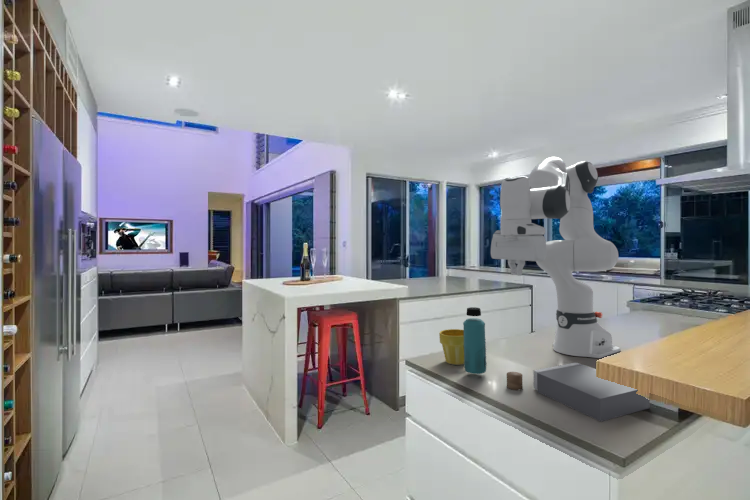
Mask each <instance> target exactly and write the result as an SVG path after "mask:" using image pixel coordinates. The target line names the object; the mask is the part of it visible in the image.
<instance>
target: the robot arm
mask: <svg viewBox="0 0 750 500" xmlns="http://www.w3.org/2000/svg"><path fill="white" fill-rule="evenodd" d="M598 180H599V175H598V170H597V168H596V167H595V165H593V163H591V161H588V160H584V161H578V162H576V163H575V164H573V165H570V166H567V165H566V163H565V161H564V160H563V159H562V158H560V157H557V156H551V157H550V156H549V157H547V158H545V159H543V160H541V161H540V162H539V163H537V164H536V165H535V167H533V169H532V170H531V172H530V173H529V175H528V176H527V175H519V176H511V177H506V178H505V179H503V180H502V182H501V188H500V195H499V196H500V197H499V198H500V204H499V205H500V209H501V215H500V230H499V229H498V230H495V232H494V233H493V234H492V238H491V244H490V257H491V259H492V260H493V259H495V260H506V261H507V264H508V267H509V268H510V275H512V276H522V275H523V269H524V267H525V265H526V262H527V261H528V262H536V263H535V264H536V265H537V266H538V267H539V268H540V269H541V270H543V271H544V272H545V273H546V274H547V275H548V276H549V277H550V278H551V280H552V282H553V284H554V287H555V290H556V297H557V309H556V313H555V316H556V317H555V318H556V321H557V323H556V324H555V332H554V333H555V334H554V341H553V342H552V346H553V347H552V349H553V350H554V351H555V352H557V353H560V354H563V355H567V356H572V357H573V356H574V357H584V358H587V357H588V358H593V359H601V358H604V357H607V356H610V355H613V354H616V353H619V352H621V347H619V346H617V345H615V344H613V337H612V333H611V332H610V331H609V330H607V329H606V328H605V327H603V326H602V325H601V324H600V323H599V322H598V319H597V318H599V319H602V318H603V312H601V311H594V291H593V289H592V288H591V286H590V285H588V284H587V283H585V282H583V281H581V280H578V279H577V278H576V277H574V275H573V272H591V273H593V272H596V273H597V272H604V271H608V270H609V271H610V270H612V269H613V268H614V267H615V266H616V265H617V263H618V261H619V251H618V248H617V247H616V245H615V244H614V243H613V242H612V241H610V240H607V239H604V238H603V237H602V236H600V235H599V234H598V233H597V232H596V230H595V229H594V209H593V206H592V202H591V200H590V198H589V196H588V194H592V193H593V192H594V190H595V187H596V185H597V183H598ZM538 219H539V220H541V219H542V220H543V219H551V220H553V219H554V220H555V219H556V220H559V228H558V229H559V230H558V231H559V234H560V236H561V237H562V238H563V239H560V240H559V239H557V240H556V239H555V240H549V241H548V240H547V239H546V238H545V236H544V235H545V234H546V228H545V227H544V226H541V225H539V224H536V223H534V222H532V220H538ZM546 240H547V241H546Z"/></svg>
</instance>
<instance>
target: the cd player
mask: <svg viewBox="0 0 750 500" xmlns="http://www.w3.org/2000/svg"><path fill="white" fill-rule="evenodd" d="M580 364H581V363H580ZM596 369H597V368H594V367H591V366H588V365H585V364H583V363H582V364H581V365H576V366H571V367H565V368H560V369H555V370H550V371H545V372H539V373H537V390H536V391H537V393H539V394H541V395H543V396H545V397H547V398H549V399H551V400H554V401H556V402H558V403H560V404H562V405H564V406H565V407H568V408H571V409H573V410H574V411H577V412H579V413H581V414H584V415H585V416H588V417H590V418H592V419H594V420H596V421H599V422H605V421H608V420H612V419H615V418H618V417H623V416H626V415H629V414H634V413H638V412H641V411H645V410H648V409H650V400H651V399H650V400H648V399H646V398H645V397H643V396H641V395H638V394H636V392H637V391H638V390H637V389H634V388H631V387H627V386H624V385H620V384H617V383H615V382H611V381H608V380H604V379H601V378H598V377H596Z"/></svg>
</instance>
